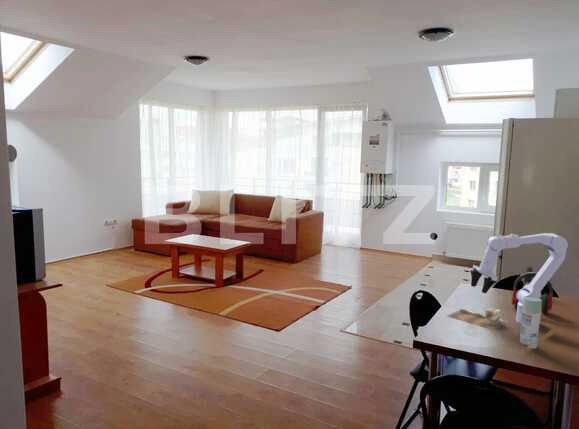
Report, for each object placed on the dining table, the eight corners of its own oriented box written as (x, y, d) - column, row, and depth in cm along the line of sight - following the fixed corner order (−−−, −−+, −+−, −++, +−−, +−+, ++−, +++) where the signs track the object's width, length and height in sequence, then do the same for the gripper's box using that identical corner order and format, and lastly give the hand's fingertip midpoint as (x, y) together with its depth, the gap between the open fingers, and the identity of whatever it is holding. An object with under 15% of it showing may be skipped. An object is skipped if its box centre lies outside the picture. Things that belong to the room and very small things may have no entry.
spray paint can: (540, 348, 181) (545, 301, 178) (526, 349, 180) (531, 301, 177) (529, 342, 187) (533, 295, 185) (515, 343, 186) (520, 296, 183)
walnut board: (507, 324, 206) (508, 319, 206) (493, 333, 196) (493, 327, 195) (462, 311, 222) (462, 306, 222) (446, 319, 212) (446, 313, 211)
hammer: (512, 287, 232) (524, 264, 254) (510, 314, 237) (523, 289, 259) (524, 289, 228) (536, 266, 250) (523, 317, 233) (535, 291, 255)
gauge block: (500, 322, 205) (501, 309, 205) (492, 326, 199) (493, 313, 198) (491, 319, 208) (492, 307, 207) (483, 324, 202) (484, 311, 201)
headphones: (511, 311, 225) (514, 272, 222) (511, 305, 234) (514, 268, 231) (551, 317, 217) (555, 277, 214) (550, 311, 226) (554, 272, 223)
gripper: (471, 255, 211) (461, 282, 213) (492, 265, 197) (481, 294, 199) (483, 258, 213) (473, 284, 215) (505, 268, 199) (494, 296, 202)
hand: (478, 289), depth 207 cm, fingers open, 7 cm apart
